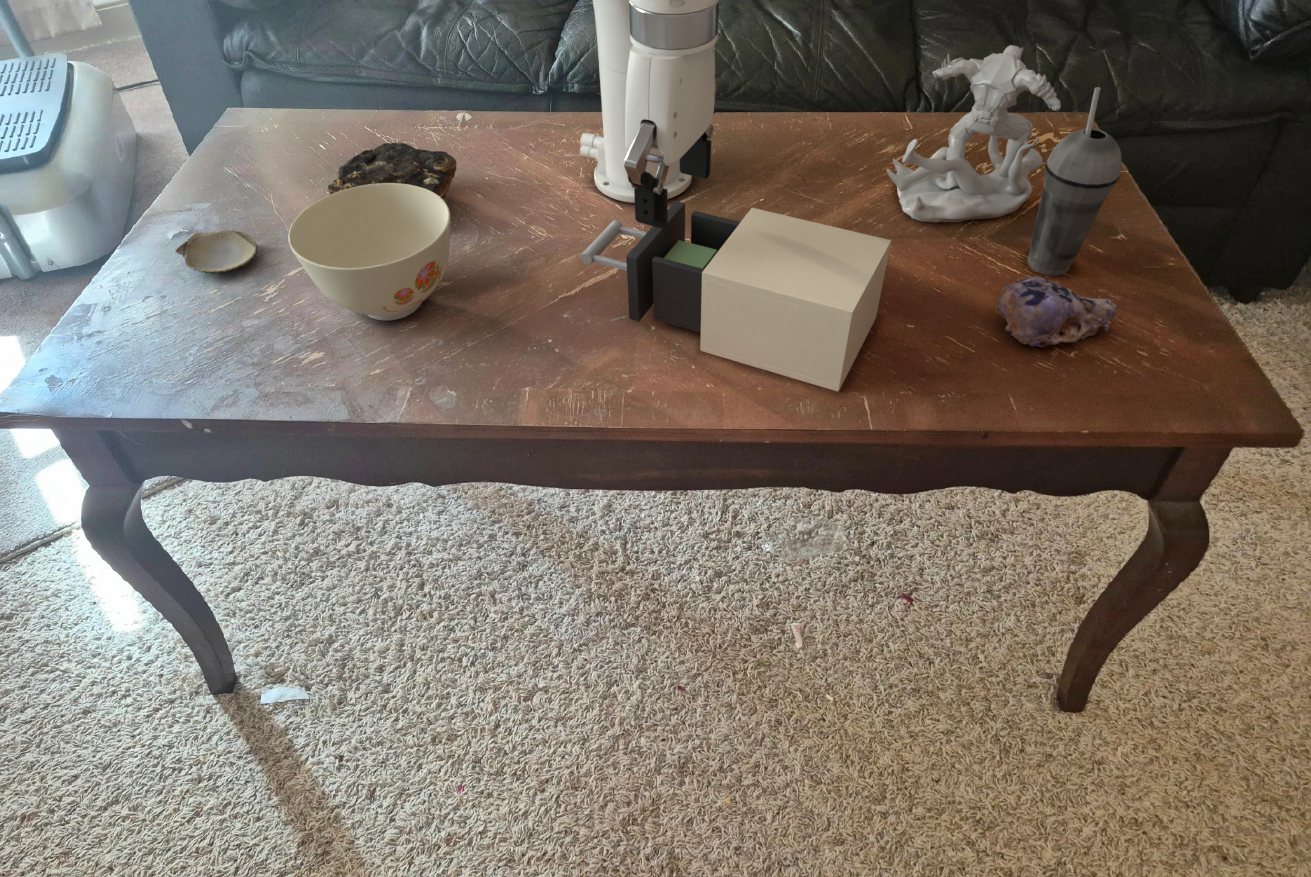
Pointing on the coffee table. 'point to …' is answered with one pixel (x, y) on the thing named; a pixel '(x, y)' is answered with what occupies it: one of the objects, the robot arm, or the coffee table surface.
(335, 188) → the fossil rock
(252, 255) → the seashell
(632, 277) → the dark grey drawer
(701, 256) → the block
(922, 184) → the figurine
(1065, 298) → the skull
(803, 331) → the cream drawer box
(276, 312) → the coffee table surface
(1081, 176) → the beverage cup
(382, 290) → the bowl
